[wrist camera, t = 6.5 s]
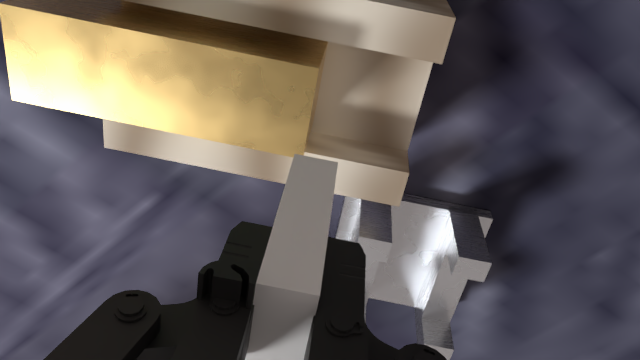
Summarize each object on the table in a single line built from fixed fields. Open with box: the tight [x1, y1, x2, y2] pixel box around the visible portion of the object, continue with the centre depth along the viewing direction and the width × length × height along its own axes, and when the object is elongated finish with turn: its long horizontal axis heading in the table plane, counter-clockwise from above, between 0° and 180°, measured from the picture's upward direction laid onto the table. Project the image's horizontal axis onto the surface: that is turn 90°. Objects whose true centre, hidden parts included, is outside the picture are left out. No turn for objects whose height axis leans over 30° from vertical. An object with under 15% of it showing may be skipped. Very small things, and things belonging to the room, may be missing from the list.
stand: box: [335, 193, 493, 360], centre depth 36 cm, size 10×9×6 cm
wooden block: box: [0, 0, 328, 157], centre depth 25 cm, size 14×4×4 cm, turn 80°
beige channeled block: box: [103, 0, 456, 207], centre depth 28 cm, size 16×10×8 cm, turn 80°
